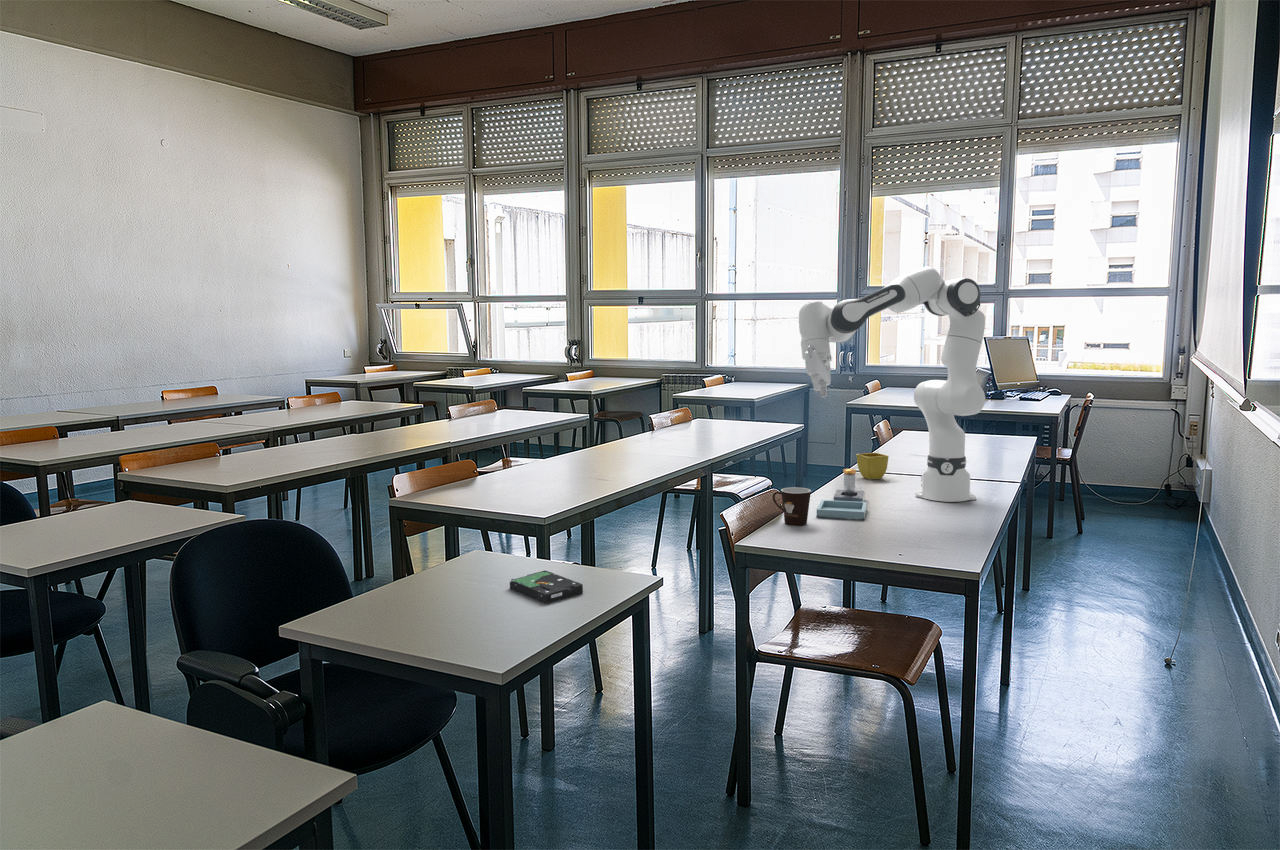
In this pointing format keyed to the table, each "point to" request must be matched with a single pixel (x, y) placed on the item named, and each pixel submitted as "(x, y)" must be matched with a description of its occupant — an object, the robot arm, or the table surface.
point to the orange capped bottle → (849, 481)
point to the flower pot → (872, 465)
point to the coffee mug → (794, 505)
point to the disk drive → (546, 586)
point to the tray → (842, 509)
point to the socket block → (841, 497)
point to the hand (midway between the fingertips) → (820, 393)
